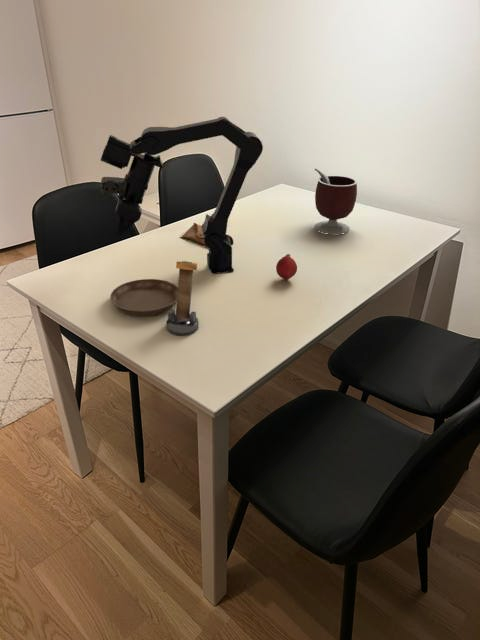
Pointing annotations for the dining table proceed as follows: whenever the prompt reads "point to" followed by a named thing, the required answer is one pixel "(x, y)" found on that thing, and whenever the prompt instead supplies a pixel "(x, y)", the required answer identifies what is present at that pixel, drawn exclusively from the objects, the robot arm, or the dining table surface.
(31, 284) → the dining table surface
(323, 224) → the mate gourd
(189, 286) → the brown capped cylinder
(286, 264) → the onion
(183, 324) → the tribrach base
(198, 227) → the sunglasses case
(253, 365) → the dining table surface
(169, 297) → the plant saucer
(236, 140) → the robot arm
